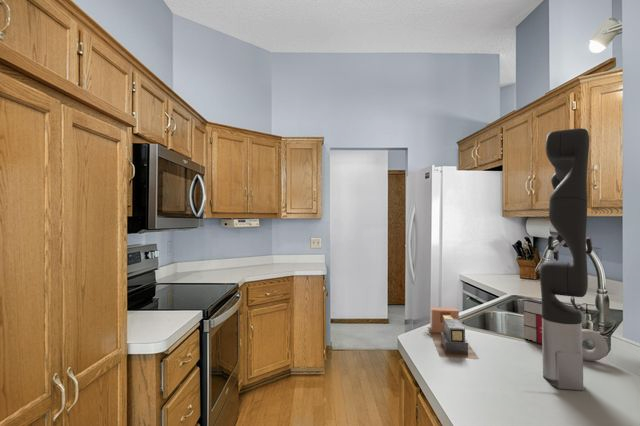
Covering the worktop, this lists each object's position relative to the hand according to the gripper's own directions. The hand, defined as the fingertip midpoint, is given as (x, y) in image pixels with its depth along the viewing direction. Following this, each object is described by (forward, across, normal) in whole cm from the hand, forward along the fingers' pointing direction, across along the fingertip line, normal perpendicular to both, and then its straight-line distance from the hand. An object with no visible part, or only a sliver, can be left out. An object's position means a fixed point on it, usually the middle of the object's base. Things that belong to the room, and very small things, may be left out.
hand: (569, 261), depth 144 cm
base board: (+16, -28, -51) cm, 61 cm away
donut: (+19, +11, -36) cm, 42 cm away
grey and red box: (+22, -5, -28) cm, 36 cm away
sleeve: (+13, -24, -57) cm, 63 cm away
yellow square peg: (+10, -26, -52) cm, 59 cm away
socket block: (+18, -35, -41) cm, 57 cm away
